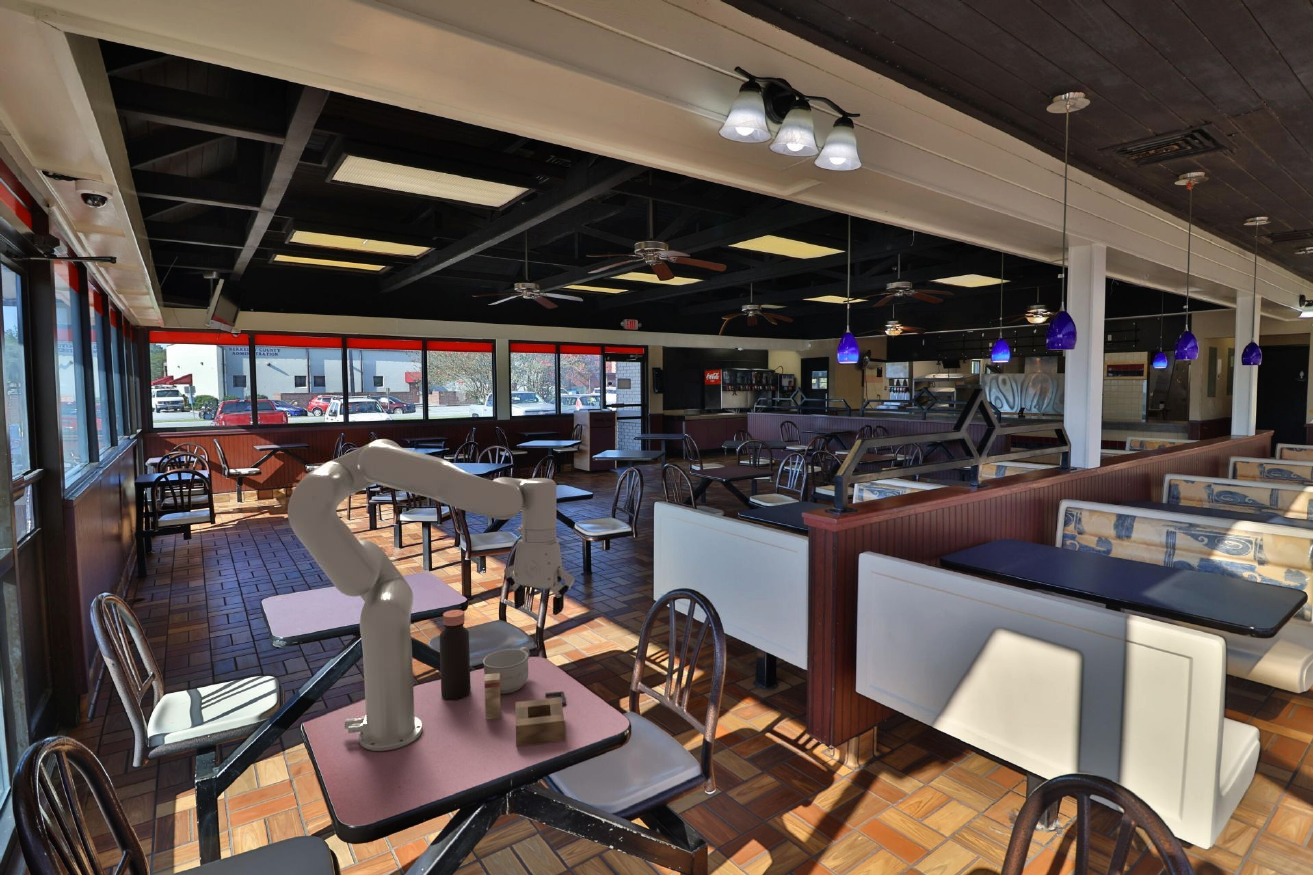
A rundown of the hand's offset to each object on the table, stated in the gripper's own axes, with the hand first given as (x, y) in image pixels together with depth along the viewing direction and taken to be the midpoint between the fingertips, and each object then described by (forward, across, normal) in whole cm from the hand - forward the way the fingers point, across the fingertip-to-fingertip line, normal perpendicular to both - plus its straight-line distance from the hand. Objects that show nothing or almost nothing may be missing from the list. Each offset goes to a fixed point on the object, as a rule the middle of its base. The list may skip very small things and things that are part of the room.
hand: (538, 609), depth 147 cm
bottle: (+25, -23, +1) cm, 34 cm away
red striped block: (+25, -9, -4) cm, 27 cm away
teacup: (+25, -13, +10) cm, 30 cm away
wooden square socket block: (+24, +4, -6) cm, 25 cm away
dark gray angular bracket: (+24, -1, +6) cm, 25 cm away
